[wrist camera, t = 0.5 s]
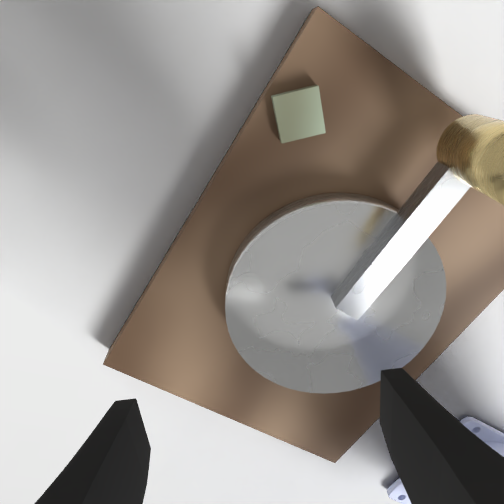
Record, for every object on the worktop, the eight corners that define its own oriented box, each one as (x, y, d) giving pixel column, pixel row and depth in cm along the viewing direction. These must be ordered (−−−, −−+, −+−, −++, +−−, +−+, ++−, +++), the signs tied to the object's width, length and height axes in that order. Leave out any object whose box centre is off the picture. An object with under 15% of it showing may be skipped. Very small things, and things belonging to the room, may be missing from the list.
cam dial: (348, 400, 24) (379, 491, 19) (187, 323, 21) (174, 405, 16) (552, 177, 19) (666, 221, 14) (375, 41, 16) (439, 37, 11)
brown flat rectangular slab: (564, 199, 21) (592, 212, 19) (330, 446, 27) (337, 471, 25) (312, 9, 17) (321, 4, 15) (108, 349, 23) (99, 372, 22)
